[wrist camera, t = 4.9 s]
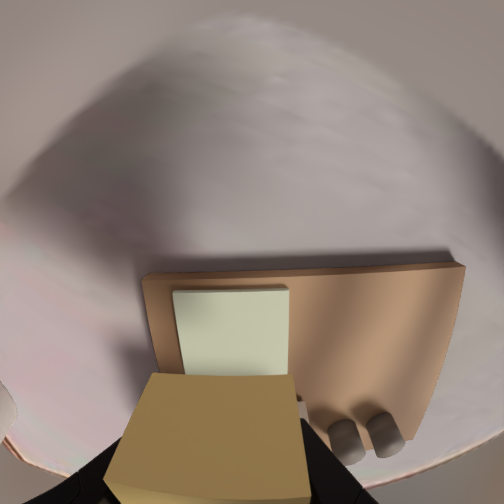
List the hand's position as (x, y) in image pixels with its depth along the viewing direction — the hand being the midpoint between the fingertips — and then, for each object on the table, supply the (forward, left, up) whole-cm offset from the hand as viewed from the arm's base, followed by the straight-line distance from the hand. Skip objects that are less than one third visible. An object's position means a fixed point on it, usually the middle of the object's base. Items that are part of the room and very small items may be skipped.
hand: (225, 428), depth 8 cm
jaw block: (0, 0, 0) cm, 0 cm away
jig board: (-4, +3, -7) cm, 8 cm away
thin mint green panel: (0, 0, -7) cm, 7 cm away
